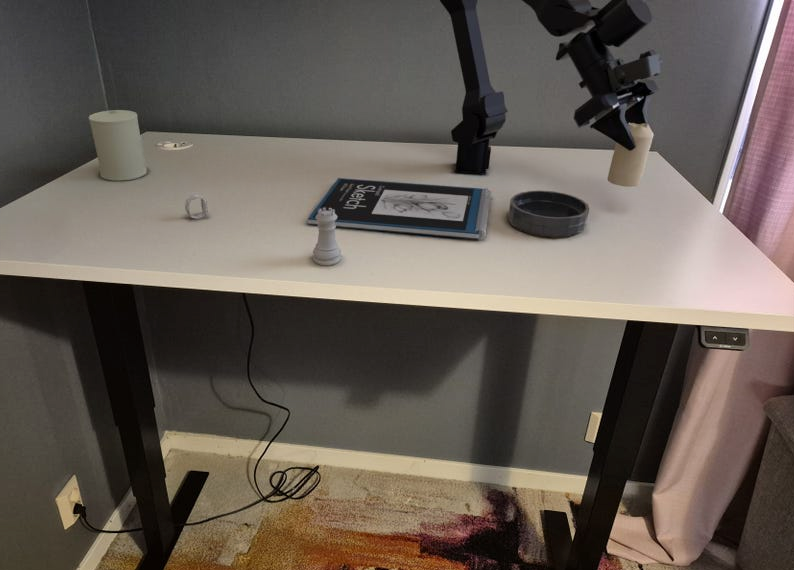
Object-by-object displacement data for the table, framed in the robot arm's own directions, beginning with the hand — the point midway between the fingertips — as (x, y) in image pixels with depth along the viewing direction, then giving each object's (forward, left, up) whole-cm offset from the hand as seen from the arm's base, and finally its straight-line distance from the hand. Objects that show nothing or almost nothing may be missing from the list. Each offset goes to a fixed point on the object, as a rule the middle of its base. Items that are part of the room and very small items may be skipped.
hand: (641, 145), depth 108 cm
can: (-98, +2, -12) cm, 99 cm away
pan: (-14, -7, -12) cm, 20 cm away
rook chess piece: (-48, -29, -12) cm, 58 cm away
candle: (-1, +1, -7) cm, 7 cm away
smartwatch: (-74, -17, -12) cm, 77 cm away
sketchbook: (-39, -6, -12) cm, 41 cm away
